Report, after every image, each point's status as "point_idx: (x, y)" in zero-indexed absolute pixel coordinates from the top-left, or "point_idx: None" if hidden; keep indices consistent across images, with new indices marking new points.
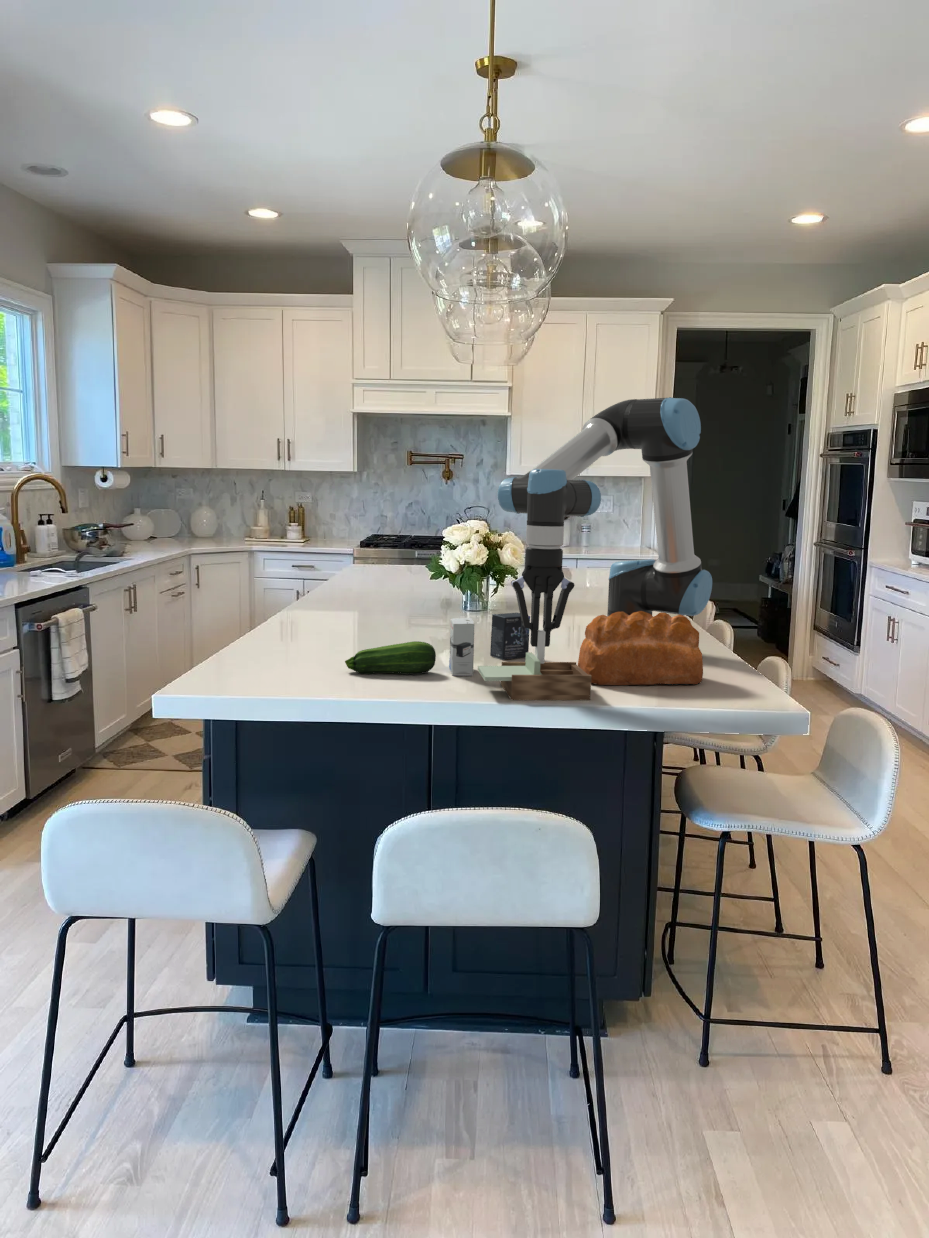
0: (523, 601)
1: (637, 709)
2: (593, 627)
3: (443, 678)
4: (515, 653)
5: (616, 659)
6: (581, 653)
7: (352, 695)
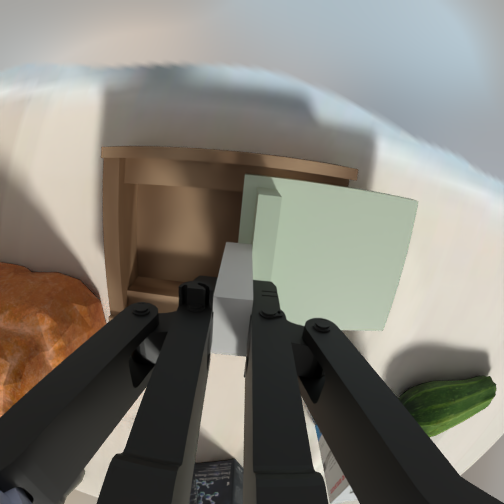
0: (398, 435)
1: (67, 69)
2: None
3: (395, 364)
4: (210, 468)
5: (20, 294)
6: None
7: None
